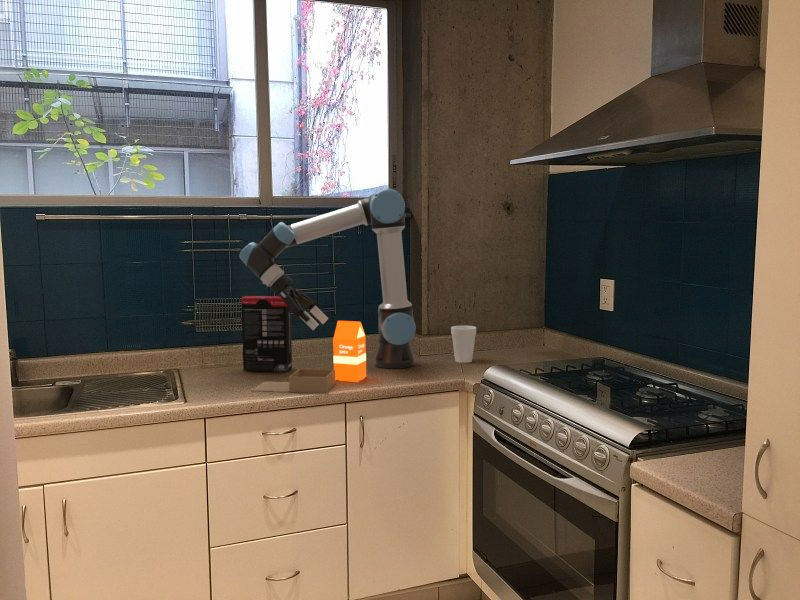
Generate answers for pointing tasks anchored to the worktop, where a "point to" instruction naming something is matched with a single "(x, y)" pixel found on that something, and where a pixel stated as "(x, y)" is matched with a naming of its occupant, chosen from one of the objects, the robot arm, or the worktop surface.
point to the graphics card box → (266, 334)
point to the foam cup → (463, 342)
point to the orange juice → (349, 351)
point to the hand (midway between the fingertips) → (321, 324)
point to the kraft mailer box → (303, 382)
